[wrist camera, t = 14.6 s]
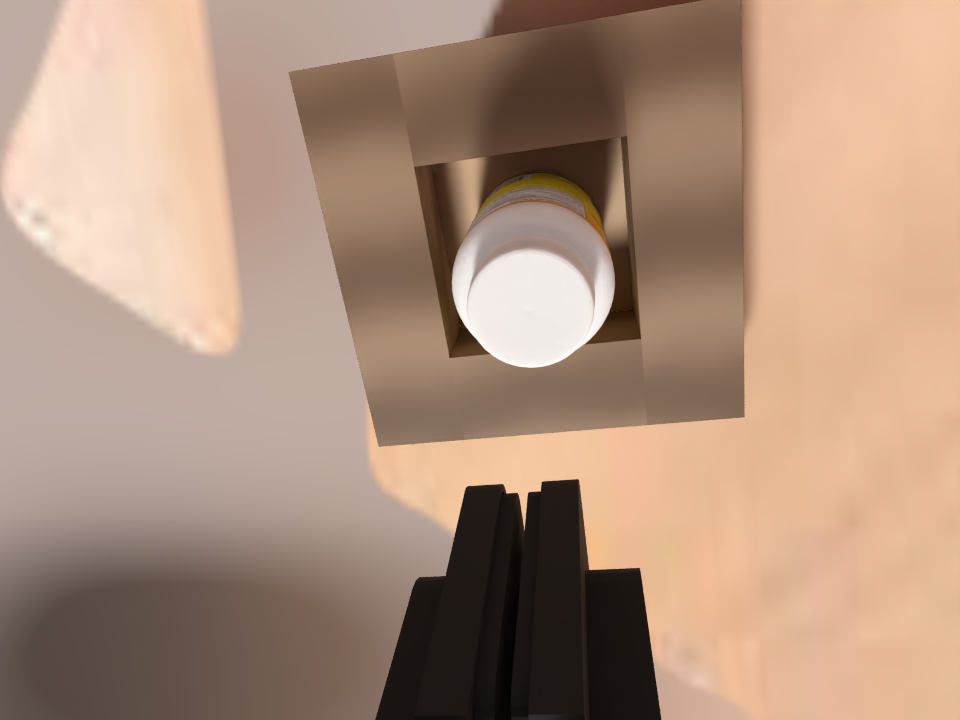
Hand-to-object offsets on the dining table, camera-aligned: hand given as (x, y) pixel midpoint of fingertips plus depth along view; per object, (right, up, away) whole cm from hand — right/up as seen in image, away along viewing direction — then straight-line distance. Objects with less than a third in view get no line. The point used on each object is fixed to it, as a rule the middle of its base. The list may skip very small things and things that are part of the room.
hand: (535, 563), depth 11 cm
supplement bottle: (+2, +9, +20) cm, 22 cm away
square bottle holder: (+2, +9, +20) cm, 22 cm away
